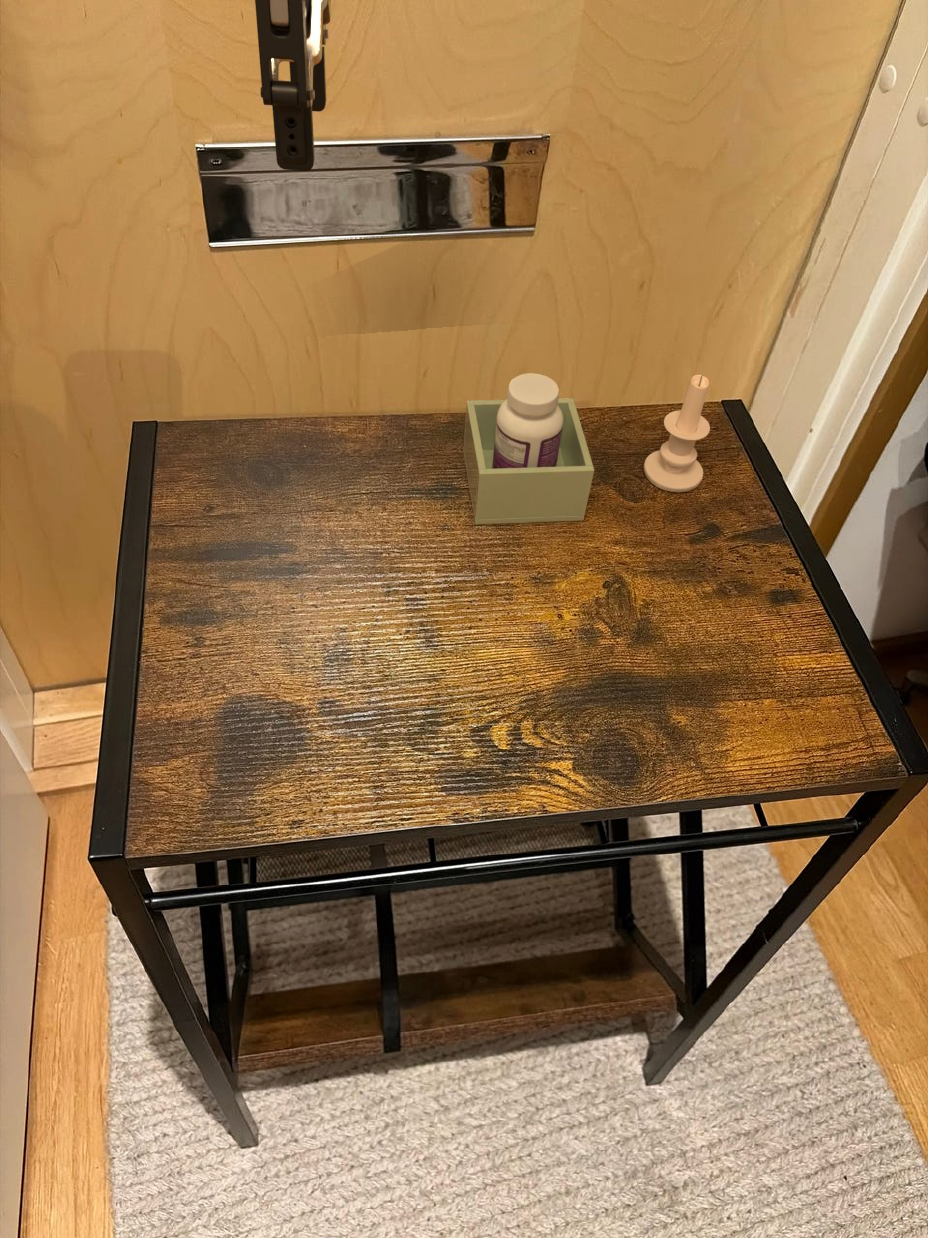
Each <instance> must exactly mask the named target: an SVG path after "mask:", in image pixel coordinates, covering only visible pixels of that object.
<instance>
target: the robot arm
mask: <svg viewBox="0 0 928 1238" xmlns="http://www.w3.org/2000/svg"><path fill="white" fill-rule="evenodd" d="M254 4H255V16H256V17H255V19H256V30H257V43H258V56H259V69H260V81H261V87H260V89H259V90H260V98H262V102H263V105H264V106H271V107H272V119H273V132H274V143H275V144H274V145H275V156H276V157H275V159H276V164H277V165H278V167H279V168H280V169H282V170H286V171H300V172H302V171H303V172H308V171H311V170H312V169H313V167H314V164H315V161H316V160H315V140H314V139H315V138H314V137H315V136H314V120H313V119H314V118H313V112H318V113H319V112H322V111H324V109H325V108H326V104H327V81H326V56H325V46H326V45H327V39H328V40H329V29H328V28H327V25H328V24H330V22H331V15H332V14H331V13H332V11H331V10H332V0H254ZM283 62H287V63H288V65H289V79H290V80H279V76H280V74H279V73H280V72H279V71H280V70H279V69H280V67H279V66H280V64H281V63H283Z"/></svg>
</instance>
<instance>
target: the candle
mask: <svg viewBox="0 0 928 1238" xmlns="http://www.w3.org/2000/svg"><path fill="white" fill-rule="evenodd" d="M709 386H710V381H709V379H708V377H706V376H705V375H703V374H695V375H692V376H691V379H690V382H689V384H688V387H687V390H686V393H685V396H684V399H683V403H682V405H681V409H679V410H674V411H671V412H669V413H668V414H666V416H665V417H664V419H663V425H664V428H665V429H666V431H667V432H668V433H669V437H668V440H667V441H665V442H663V443H662V444H661V446H660V449H659V450H656V451H653V452H652V453H650V454H649V455H648V456H647V457H646V458H645V460H644V463H643V468H642V469H643V474H644V475H645V477H646V479H647V480H648V481H649V482H650V484H652V485H654V486H655V487H656V488H658V489H661V490H663V491H666V492H670V493H685V492H689V491H692V490H693V491H694V490H695V489H696V488H697V487H699V486H700V484H701V483H702V481H703V477H704V469H703V466H702V465H701V463H700V462H699V460H697V458H698V451H697V449H696V447H695V446H696V443H697V442H696V441H699V440H702V439H704V438H706V437H708V435H709V434H710V430H711V427H710V423H709V421H708V420H707V419H706V418H705V417H704V416H703V415H702V412H703V408H704V405H705V401H706V398H707V393H708V389H709Z"/></svg>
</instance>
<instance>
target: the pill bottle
mask: <svg viewBox="0 0 928 1238" xmlns="http://www.w3.org/2000/svg"><path fill="white" fill-rule="evenodd" d="M559 395H560V389H559V385H558V383H557V382H556V381H555V380H553V379H552V378H551V377H549V376H547V375H544V374H540V373H531V372H529V373H522V374H519V375H517V376H515V377H513V378H512V379H511V381H510V382H509V384H508V387H507V394H506V399H504V400H505V401H504V402H503V403H502V404H501V406H500V408H499V410H498V413H497V422H496V432H495V443H494V454H493V465H492V469H499V468H531V467H556V465H557V459H558V453H559V447H560V441H561V434H562V428H563V415H562V412H561V409H560V408H559V406H558V398H559V397H560V396H559Z"/></svg>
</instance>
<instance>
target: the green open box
mask: <svg viewBox="0 0 928 1238" xmlns="http://www.w3.org/2000/svg"><path fill="white" fill-rule="evenodd" d="M505 400H506V399H477V400H476V399H475V400H471V399H470V400H466V403H465V417H464V430H463V444H462V445H463V446H462V455H463V461H464V467H465V473H466V479H467V484H468V490H469V497H470V502H471V504H470V505H471V509H472V515H473V521H474V526H475V525H476V526H477V525H478V526H479V525H500V524H501V525H502V524H504V525H505V524H527V523H531V524H532V523H553V522H555V523H556V522H579V521H581V522H583V521H584V520H585V515H586V511H587V506H588V501H589V497H590V494H591V493H590V492H591V489H592V483H593V479H594V474H595V468H594V464H593V461H592V457H591V454H590V450H589V447H588V444H587V440H586V437H585V433H584V430H583V427H582V423H581V419H580V416H579V413H578V409H577V406H576V403H575V399H574V398H573V397H566V398H564V397H563V398H561V397H560V398H559V397H558V406H559V408H560V409H561V412H562V415H563V428H562V434H561V441H560V447H559V453H558V459H557V465H556V467H531V468H499V469H492V465H493V454H494V443H495V432H496V422H497V413H498V410H499V408H500V406H501V404H502V403H503V402H504V401H505Z"/></svg>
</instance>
